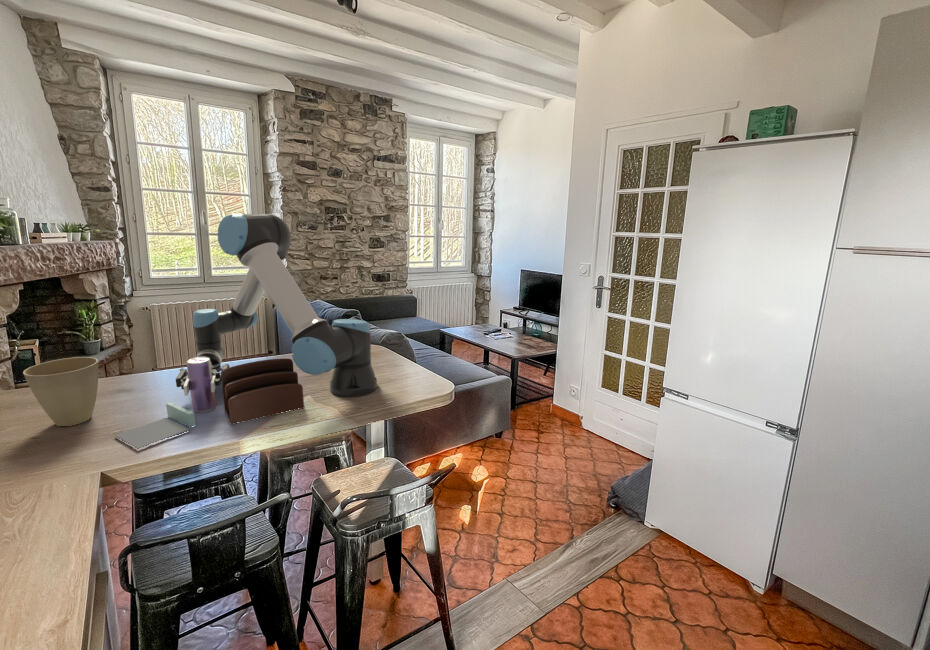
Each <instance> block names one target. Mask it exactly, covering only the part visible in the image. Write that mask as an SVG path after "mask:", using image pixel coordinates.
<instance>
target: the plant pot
mask: <svg viewBox="0 0 930 650" xmlns="http://www.w3.org/2000/svg"><path fill="white" fill-rule="evenodd" d="M22 374H23V376H24V379H25V381H26V382H27V385H28V386H29V389H30V391H31V392H32V394H33V396H34V397H35V399H36V401H37V402H38V404H39V405H40V406H41V409H43V412H45V413H46V415H47V416H48V417H49V419H51V421H52V422H53V423H54V425H56V427H60V426H68V427H72V426H71V425H74V426H76V424H78V425H80V424H79V423H81V424H83V423H82V422H84V423H86V422H88V421H90V420H91V419H92V417H93V413H94V409H95V405H96V400H97V394H98V387H99V360H98V358H96V357H92V356H91V357H90V356H78V357H77V356H76V357H68V358H61V359H60V358H59V359H54V360H49V361H45V362H42V363H38V364H35V365H32V366H29V367H28V368H26V369H24V370H23V372H22ZM90 418H91V419H90ZM89 419H90V420H89ZM87 420H88V421H87ZM85 421H86V422H85Z"/></svg>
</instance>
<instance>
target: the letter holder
mask: <svg viewBox="0 0 930 650" xmlns="http://www.w3.org/2000/svg"><path fill="white" fill-rule="evenodd" d="M293 361H294V360H293V359H291V358H272V359H262V360H257V361H251V362H246V363H242V364H237V365H233V366H229V368H226V369H223V370H222V371H220V375H221V389H222V395H223V396H222V398H223V407H224V413H225V415H226V418H227V419H228V422H229V424H230V423H231V424H232V425H234V424H233V423H236V424H238V423H237V422H240V423H243V422H242V421H245V422H249V421H253V420H252V419H254V420H257V419H256V418H258V419H261V418H260V417H263V416H267V417H269V416H268V415H271V416H273V415H272V414H276V413H280V414H282V413H281V412H285V413H287V412H286V411H289V410H293V411H295V410H294V409H298V408H302V409H304V408H305V401H304V400H305V399H304V387H303V385H302V384H301V383H299V378H298V377H299V376H298V373H297V372H296V371H294V362H293ZM303 407H304V408H303ZM298 410H299V409H298ZM289 412H290V411H289ZM276 415H277V414H276ZM263 418H264V417H263ZM248 420H249V421H248ZM231 424H230V425H231Z"/></svg>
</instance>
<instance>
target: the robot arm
mask: <svg viewBox="0 0 930 650" xmlns="http://www.w3.org/2000/svg"><path fill="white" fill-rule="evenodd" d="M291 236H292V235H291V231H290V228H289V226H288V224H287V223H286V222H285V220H283V219H282V218H281V217H279V216H277V215H274V214H270V213H251V214H250V213H248V214H247V213H241V212H239V213H232V214H227V215H225V216H224V217H223V218H222V219H221V220H220V221H219V224H218V227H217V241H218V244H219V246H220V249H221V250H222V252H224V253H225V254H226V255H229V256H232V257H233V256H236V257H237V259H238V260H239V262H240V263H241V265H242V266H245V267H248V271H247V272H246V274H245V277H244V279H243V281H242V284H241V285H240V288H239V291H238V293H237V295H236V297H235V299H234V301H233V303H232V304H231V305H232V306H231V307H230V309H229V310H226V311H222V312H218V310H217V309H215V308H205V309H204V308H203V309H202V308H201V309H198V310H197V309H196V310H195V311H194V312H193V313H192V326H193V329H194V331H193V332H194V337H195V346H196V354H197V355H196V356H195V358H196V357H208V358H210V361H211V366H212V375H213V378H212V380H211V383H210V384H211V392H216V387H217V386H220V385H221V384H222V381H221V371H222V370H223V369H226V368H229V367H230V364H229V363H225V364H224V365H221V364H222V361H223V360H222V359H223V357H224V355H225V354H224V348H223V344H222V335H225V334H229V333H233V332H237V331H240V330H245V329H249V328H250V327H253V326H255V325H256V324H257V322H258V314H257V312H256V310H257V308H258V305H260V303H261V299H262V298H263V296H264V293H265V292H266V294H267V295H268V297H269V299H270V300H271V301H272V303H273V305H274V306H275V308H276V310H277V311H278V313H279V314H280V316H281V317H282V318H283V320H284V322H285V323H286V325H287V327H288V328H289V329H290V331H291V332H292V335H291V339H290V341H291V342H292V343H293V344H292V347H291V353H292V355H291V357H292V361H294V362H293V363H294V364H295V365H296V367H298V369H299V370H300V371H302V372H303V373H305V374H307V375H312V376H319V375H321V374H326V373H329V372H331V371H332V370H333V371H332V375H331V376H332V378H331V380H330V383H329V388H330V389H329V390H330V393H332V394H333V395H336V396H341V397H358V396H364V395H368V394H370V393H373V392H374V391H376V389H377V388H378V379H377V376H376V375H375V372H374V371H375V370H374V369H373V366H372V353H371V347H372V346H371V345H372V344H371V335H372V332H371V327H370V324H369V322H368V321H365V320H364V319H363V320H362V319H356V318H355V319H353V318H343V319H341V318H339V319H334V320H332V324H331V325H330V323H329V322H328V320H327V319H325V318H324V319H323V318H320V317H319V316H318V314H317V313H316V311H315V310H314V308H313V306H312V305H311V304H310V302H309V300H308V299H307V298H306V296H305V295H304V293H303V291H302V290H301V288H300V287H299V285H298V284H297V282H296V280H295V279H294V277H293V276H292V274H291V273H290V271H289V270H288V269H287V267H286V265H285V264H284V262H283V260H285V259H286V257H287V255H288V252H289V250H290V247H291V242H292V237H291ZM175 385H176V387H177V388H180V389H181V390H183V393H184V396H185V397H186V396H189V393H190V385H189V377H188V370H187V368H186V369H185V367H182V368H179V372H178V374H177V376H176V377H175Z"/></svg>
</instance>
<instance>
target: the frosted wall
mask: <svg viewBox="0 0 930 650" xmlns="http://www.w3.org/2000/svg"><path fill="white" fill-rule="evenodd" d="M165 405H166V413H167V417H168V418H169V419H171V420H173V421H176V422H179V423H180V422H181V423H180V424H182V423H183V424H182V425H184V424H186V425H188V426H190V427H192V426H194V425H196V420H195V411H192V410H189V409H187V408H184V407H183V406H180V405H178V404H176V403H174V402H171V401H169V402H166V403H165ZM186 425H185V426H186ZM188 426H187V427H188ZM190 427H189V428H190ZM192 428H193V427H192Z"/></svg>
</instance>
